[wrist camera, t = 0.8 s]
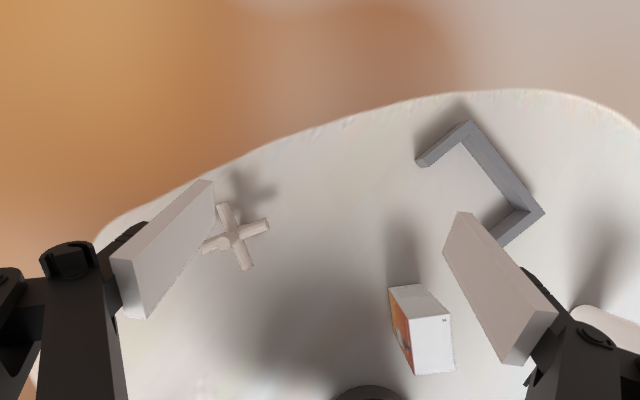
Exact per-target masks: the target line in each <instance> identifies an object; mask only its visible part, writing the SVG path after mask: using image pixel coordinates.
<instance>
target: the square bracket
mask: <svg viewBox="0 0 640 400" xmlns="http://www.w3.org/2000/svg"><path fill="white" fill-rule="evenodd" d="M460 141H461V142H462V144H463V145H464V146H465V147H466V149H467V150H468V151H469V152H470V154H471V155H472V156H473V157H474V159H475V160H476V161H477V162H478V164H479V165H480V166H481V167H482V169H483V170H484V171H485V172H486V174H487V175H488V176H489V177H490V179H491V180H492V181H493V182H494V184H495V185H496V186H497V187H498V189H499V190H500V191H501V193H502V194H503V195H504V196H505V198H506V199H507V200H508V201H509V203H510V204H511V205H512V206H513V208H514V209H515V210H514V211H513V212H512V213H511V214H509V215H508V216H507V217H506V218H504V219H503V220H502V221H501V222H499V223H498V224H497V225H496V226H494V227H493V228H492V229H491V230H489V231H488V232H489V233H490V235H491V236H492V237H493V238H494V239H495V240H496V241H497V243H498V244H499V245H500V246H501V247H502V248H503V247H504V246H506V245H507V244H508V243H509V242H511V241H512V240H513V239H514V238H516V237H517V236H518V235H519V234H521V233H522V232H523V231H524V230H526V229H527V228H528V227H529V226H531V225H532V224H533V223H534V222H536V221H537V220H538V219H539V218H541V217H542V216H543V215H544V214H546V213H545V212H544V211H543V209H542V208H541V207H540V205H539V204H538V203H537V202H536V200H535V199H534V198H533V197H532V195H531V194H530V193H529V192H528V190H527V189H526V188H525V186H524V185H523V184H522V183H521V181H520V180H519V179H518V178H517V176H516V175H515V174H514V173H513V171H512V170H511V169H510V167H509V166H508V165H507V164H506V162H505V161H504V160H503V159H502V157H501V156H500V155H499V154H498V152H497V151H496V150H495V148H494V147H493V146H492V145H491V143H490V142H489V141H488V140H487V138H486V137H485V136H484V135H483V133H482V132H481V131H480V129H479V128H478V127H477V126H476V124H475V123H474V122H473V121H472V119H469V120H467V121H464V122H462V123H460V124H458V125H457V126H456V127H455V128H453V129H452V130H451V131H450V132H449V133H447V134H446V135H445V136H444V137H443V138H441V139H440V140H439V141H438V142H436V143H435V144H434V145H433V146H432V147H430V148H429V149H428V150H427V151H426V152H424V153H423V154H422V155H421V156H420V157H418V158H417V159H416V160H415V162H416V163H417V164H418V166H419V167H420V168H424V167H429V166H431V165H432V164H433V163H434V162H435V161H437V160H438V159H439V158H440V157H442V156H443V155H444V154H445V153H446V152H448V151H449V150H450V149H451V148H452V147H454V146H455V145H456V144H457V143H458V142H460Z"/></svg>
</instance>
